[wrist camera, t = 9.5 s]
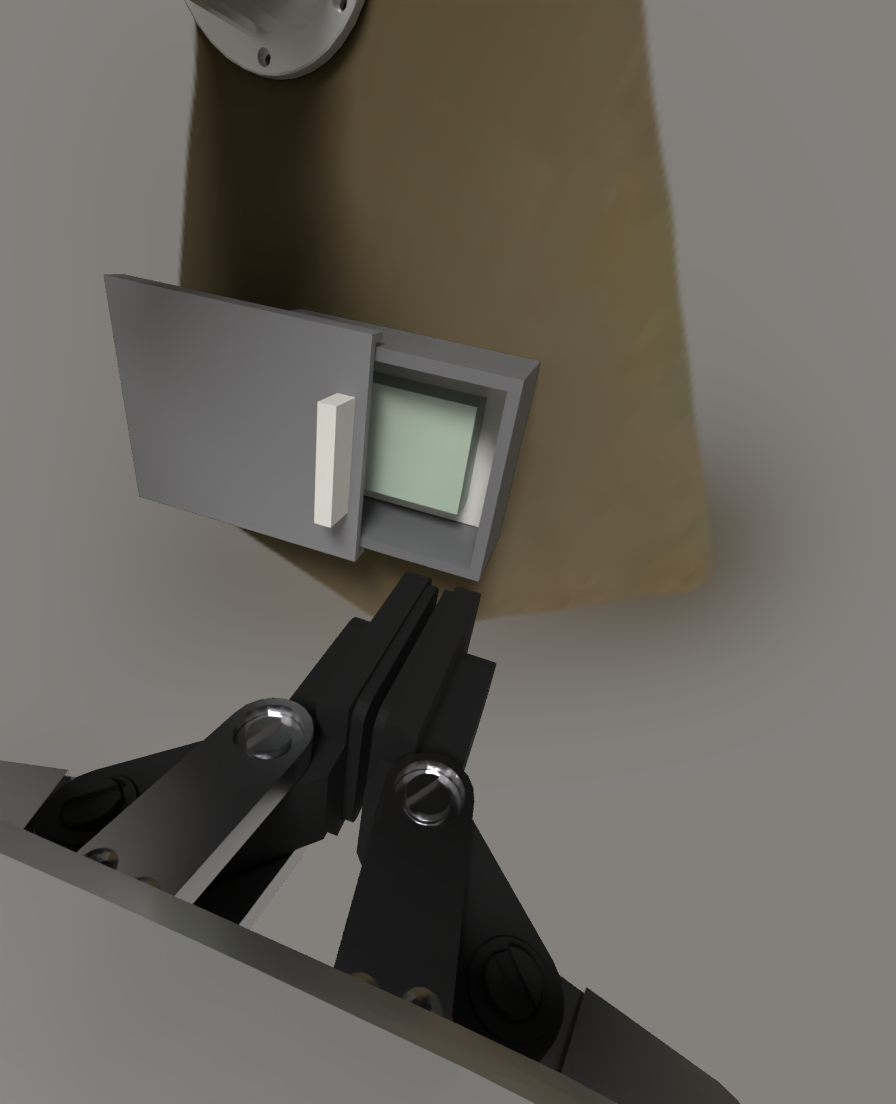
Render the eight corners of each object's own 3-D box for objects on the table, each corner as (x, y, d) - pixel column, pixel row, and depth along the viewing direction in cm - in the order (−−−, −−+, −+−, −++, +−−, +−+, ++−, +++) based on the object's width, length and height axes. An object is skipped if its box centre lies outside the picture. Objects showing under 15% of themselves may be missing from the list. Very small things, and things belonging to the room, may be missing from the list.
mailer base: (301, 308, 39) (244, 316, 33) (540, 361, 36) (524, 380, 30) (299, 482, 46) (251, 514, 40) (498, 538, 43) (478, 581, 37)
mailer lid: (123, 274, 35) (68, 275, 31) (383, 331, 32) (353, 339, 28) (154, 489, 43) (113, 509, 39) (363, 551, 40) (339, 579, 36)
